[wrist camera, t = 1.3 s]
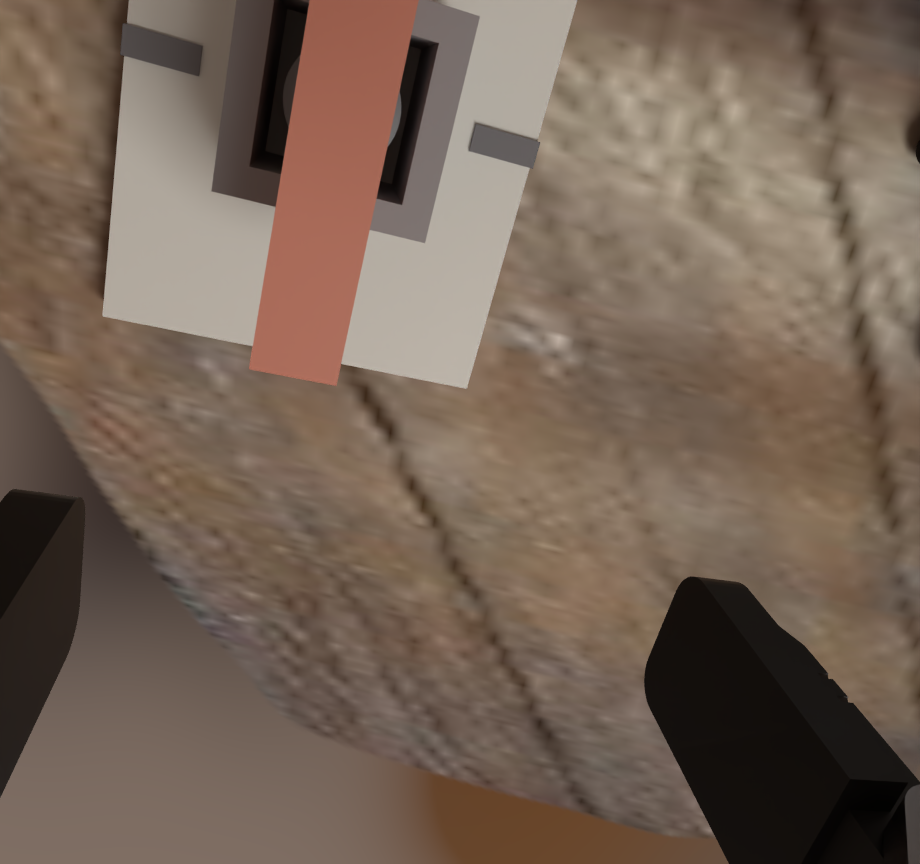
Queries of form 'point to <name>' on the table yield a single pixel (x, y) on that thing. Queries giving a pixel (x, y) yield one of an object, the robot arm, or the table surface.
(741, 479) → the table surface
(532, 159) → the lock board
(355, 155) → the red bar with frame
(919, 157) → the figurine
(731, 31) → the table surface
